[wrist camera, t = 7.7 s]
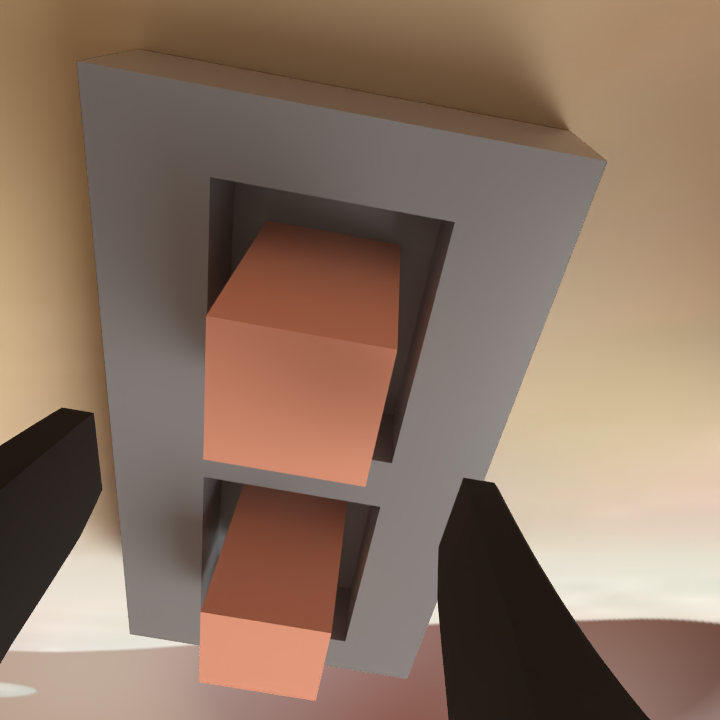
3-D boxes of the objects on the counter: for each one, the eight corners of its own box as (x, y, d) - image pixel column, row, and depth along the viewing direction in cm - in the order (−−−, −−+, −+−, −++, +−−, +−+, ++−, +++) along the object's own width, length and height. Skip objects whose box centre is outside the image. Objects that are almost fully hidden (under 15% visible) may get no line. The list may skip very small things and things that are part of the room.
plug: (400, 244, 17) (397, 349, 12) (376, 357, 19) (365, 487, 14) (266, 220, 17) (205, 316, 12) (257, 336, 19) (203, 459, 14)
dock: (570, 131, 16) (666, 209, 10) (407, 606, 28) (406, 771, 22) (139, 49, 16) (-25, 80, 10) (159, 565, 27) (91, 721, 21)
